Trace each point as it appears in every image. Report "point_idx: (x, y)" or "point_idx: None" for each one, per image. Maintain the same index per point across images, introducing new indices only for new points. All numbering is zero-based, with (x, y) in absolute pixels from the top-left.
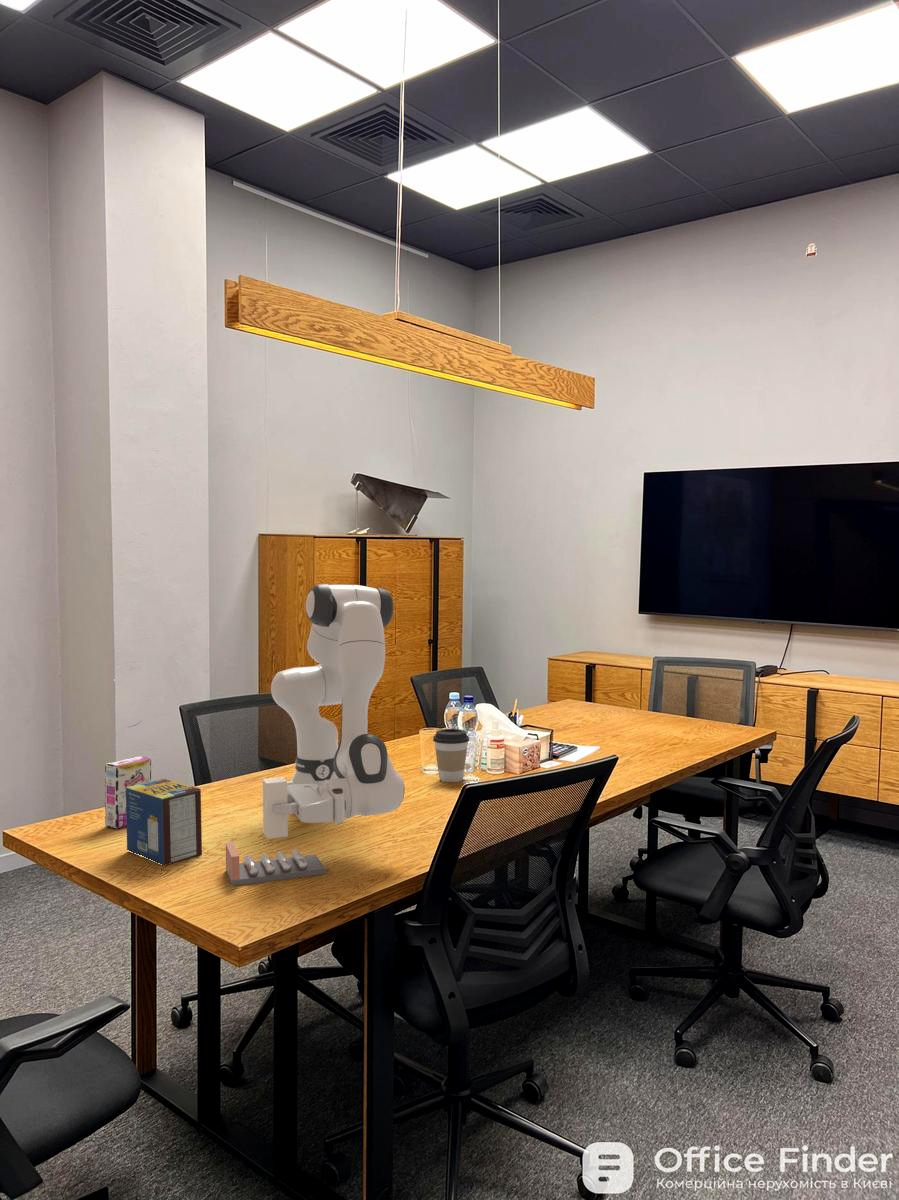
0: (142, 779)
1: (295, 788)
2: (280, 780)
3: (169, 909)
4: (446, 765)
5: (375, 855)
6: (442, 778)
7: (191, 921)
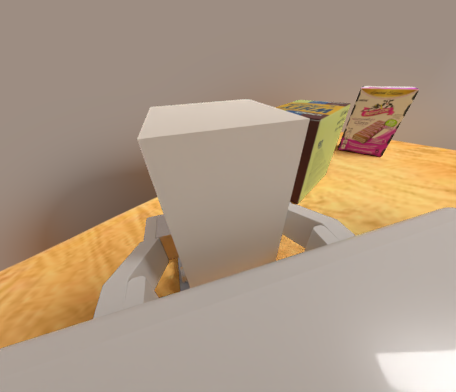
0: (389, 112)
1: (445, 262)
2: (196, 120)
3: (133, 210)
4: None
5: None
6: None
7: (83, 232)
